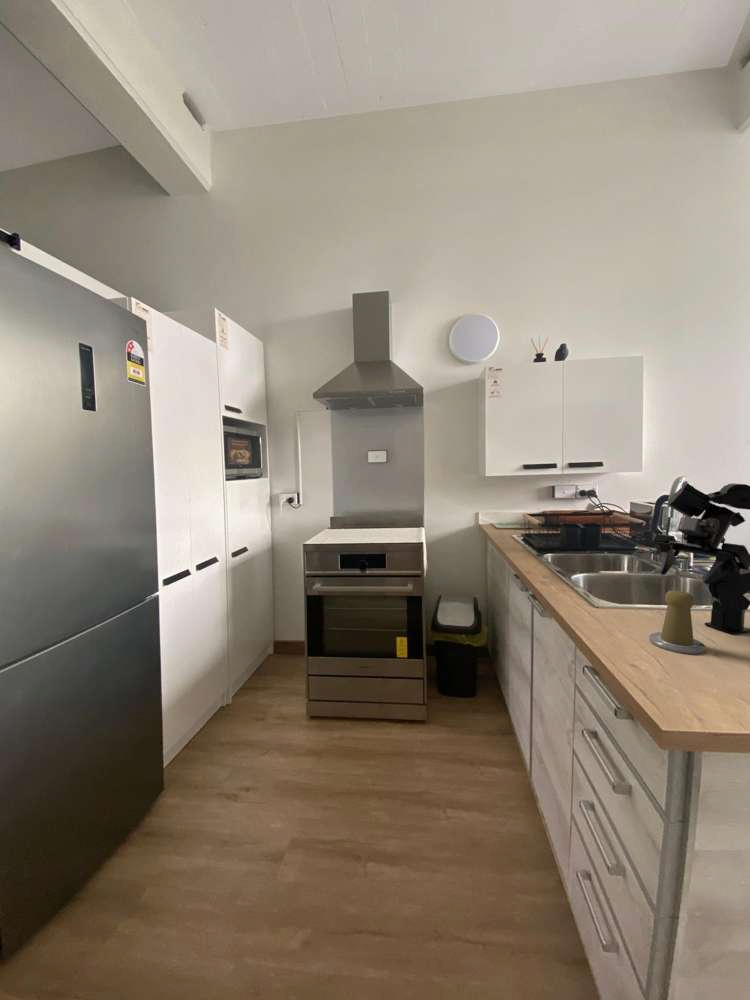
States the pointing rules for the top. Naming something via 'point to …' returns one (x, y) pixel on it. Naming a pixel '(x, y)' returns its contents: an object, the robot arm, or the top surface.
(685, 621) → the cork
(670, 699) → the top surface
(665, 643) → the coaster
